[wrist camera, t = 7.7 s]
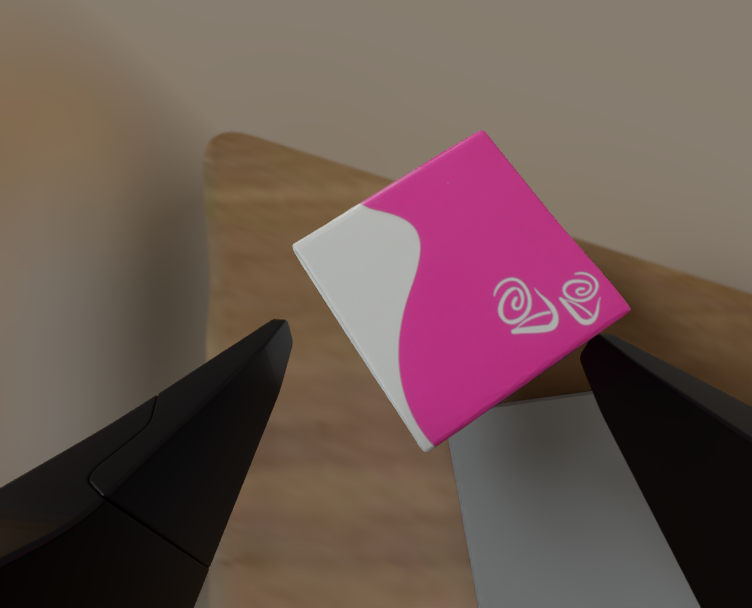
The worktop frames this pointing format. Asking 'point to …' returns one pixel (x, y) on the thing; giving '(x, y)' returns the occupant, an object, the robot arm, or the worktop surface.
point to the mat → (558, 512)
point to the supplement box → (457, 287)
